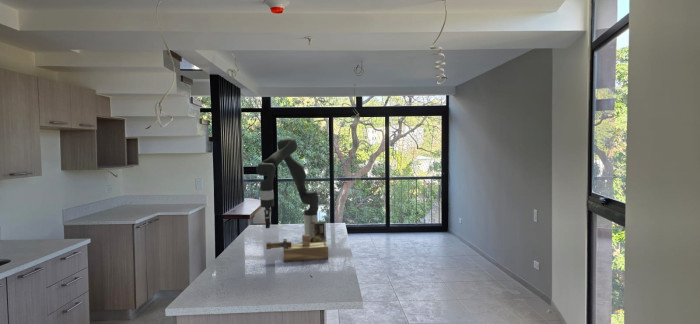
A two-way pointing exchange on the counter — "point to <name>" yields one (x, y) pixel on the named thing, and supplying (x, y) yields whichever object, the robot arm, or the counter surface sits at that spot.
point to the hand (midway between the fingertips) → (268, 226)
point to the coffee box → (318, 232)
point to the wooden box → (304, 253)
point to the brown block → (276, 245)
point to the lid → (306, 243)
